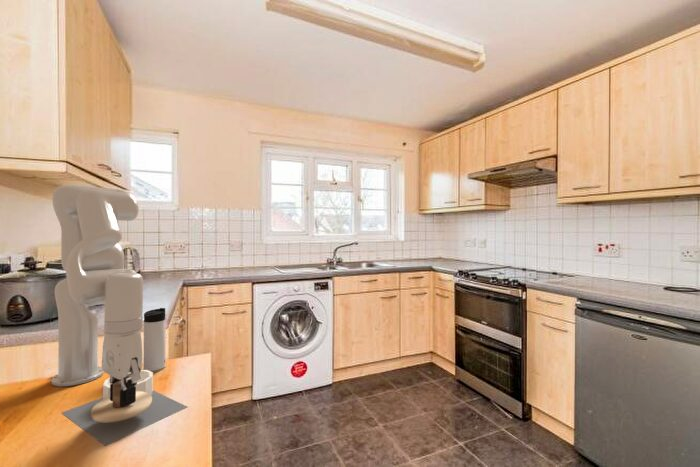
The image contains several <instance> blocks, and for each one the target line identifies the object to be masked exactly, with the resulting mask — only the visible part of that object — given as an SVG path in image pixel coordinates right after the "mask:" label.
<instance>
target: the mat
mask: <svg viewBox="0 0 700 467" xmlns="http://www.w3.org/2000/svg"><path fill="white" fill-rule="evenodd" d="M151 396H152V404H151V406H150V407H149V408H148V409H147V410H145V411H144V412H142V413H141V414H139V415H137V416H134V417H132V418H129V419H126V420H122V421H117V422H108V423H103V422H97V421H94V420H93V419H92V418H91V410H92V408H93V407H94V406H95V405H96V404H97V403H99V402H100V401H102V400H103V397H100V398H98V399H96V400H93V401H90V402H87V403H84V404H82V405H78V406H75V407H73V408H70V409H67V410H65V411H62V412H61V414H62V415H63V416H65V417H66V418H67V419H69V420H70V421H72V422H73V423H74V424H75V425H77V426H78V427H79V428H80V429H82V430H83V431H85V432H86V433H87V434H89V435H90V436H91V437H92V438H93V439H95V440H96V441H98V443H101V444H102V446H104V447H106V446H108V445H111V444H112V443H115V442H117V441H119V440H121V439H123V438H125V437H127V436H129V435H130V436H131V435H132V434H134V433H135V432H138V431H140V430H142V429H144V428H147V427H149V426H151V425H153V424H155V423H157V422H159V421H161V420H163V419H165V418H168V417H169V416H172V415H174V414H176V413H178V412H181V411H182V410H185V409H186V408H187V409H188V406H186V405H184V404H183V403H181V402H178V401H177V400H174V399H172V398H170V397H168V396H166V395H164V394H162V393H160V392H157V391H156V390H154V389H153V392H152V395H151Z"/></svg>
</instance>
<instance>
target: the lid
mask: <svg viewBox="0 0 700 467" xmlns="http://www.w3.org/2000/svg"><path fill="white" fill-rule="evenodd" d="M128 380H130V379H126V383H127V381H128ZM120 390H122V385H121V380H120V381H117V382H115V383H114V384H113V401H111V400H110V397H108V398H106V399H104V400H102V401H100V402H99V403H97V404H96V405H95V406H94V407H93V408H92V410H91V418H92V419H93V420H94V421H97V422H103V423H108V422H117V421H122V420H126V419H129V418H132V417H134V416H137V415H139V414H141V413H142V412H144V411H145V410H147V409H148V408H149V407H150V406H151V404H152V396H151V394H149V393H147V392H142V391H136V401H135V402H134V403H132V404H129V405H127V406H124V407H120Z"/></svg>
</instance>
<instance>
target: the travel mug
mask: <svg viewBox="0 0 700 467" xmlns="http://www.w3.org/2000/svg"><path fill="white" fill-rule="evenodd" d="M166 323H167V322H166V307H164V308H163V307H160V308H156V309H150V310H147V311H146V312H144V313H143V370H149V371H151V372H153V373H156V372H160V371H163V370H164V369H165V368H166V330H167V328H166Z"/></svg>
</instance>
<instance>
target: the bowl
mask: <svg viewBox="0 0 700 467" xmlns="http://www.w3.org/2000/svg"><path fill="white" fill-rule="evenodd" d="M130 373H131V372H128V374H130ZM140 376H141V380H139V381H138V382H137V386H136V391H142V392H147V393H149V394H151V395H152V392H153V390H154V372H151V371H149V370H144V369H142V370H141V372H140ZM131 378H132V377H130V378H127V379H131ZM112 384H113V383H112ZM102 387H103V388H102V398H103V400H104V399H106V398H108V397H110V377H108V378H107V379H105V380H104V382H103V384H102Z"/></svg>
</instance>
